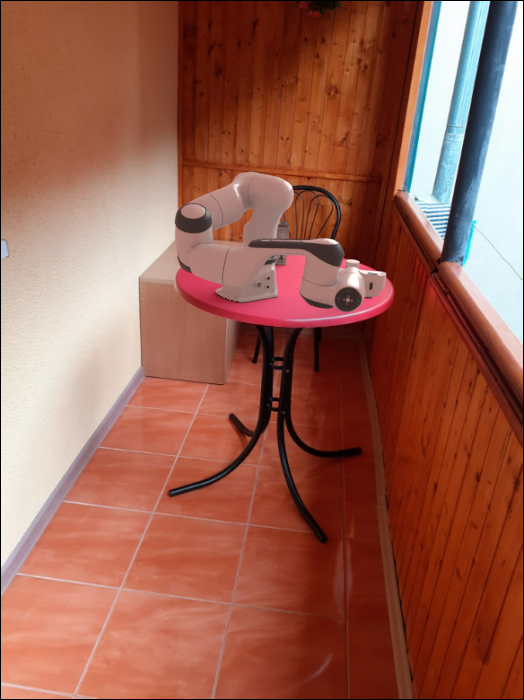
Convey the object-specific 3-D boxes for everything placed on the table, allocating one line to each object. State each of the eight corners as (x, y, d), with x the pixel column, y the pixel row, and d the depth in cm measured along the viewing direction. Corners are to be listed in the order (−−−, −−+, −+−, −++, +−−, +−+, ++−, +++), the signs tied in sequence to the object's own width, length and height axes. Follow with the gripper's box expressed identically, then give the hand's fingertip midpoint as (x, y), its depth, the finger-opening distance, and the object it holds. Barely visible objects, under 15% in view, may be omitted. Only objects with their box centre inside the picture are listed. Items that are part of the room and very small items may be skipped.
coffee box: (270, 258, 238) (272, 220, 232) (286, 259, 239) (288, 221, 232) (270, 264, 230) (272, 224, 224) (286, 265, 230) (289, 225, 224)
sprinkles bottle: (339, 297, 194) (343, 259, 189) (350, 296, 196) (355, 258, 191) (345, 302, 190) (350, 263, 185) (357, 300, 192) (362, 262, 187)
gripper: (314, 290, 167) (318, 277, 179) (384, 296, 164) (384, 283, 176) (315, 269, 164) (320, 257, 177) (387, 275, 161) (386, 263, 174)
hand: (352, 270), depth 176 cm, fingers closed
